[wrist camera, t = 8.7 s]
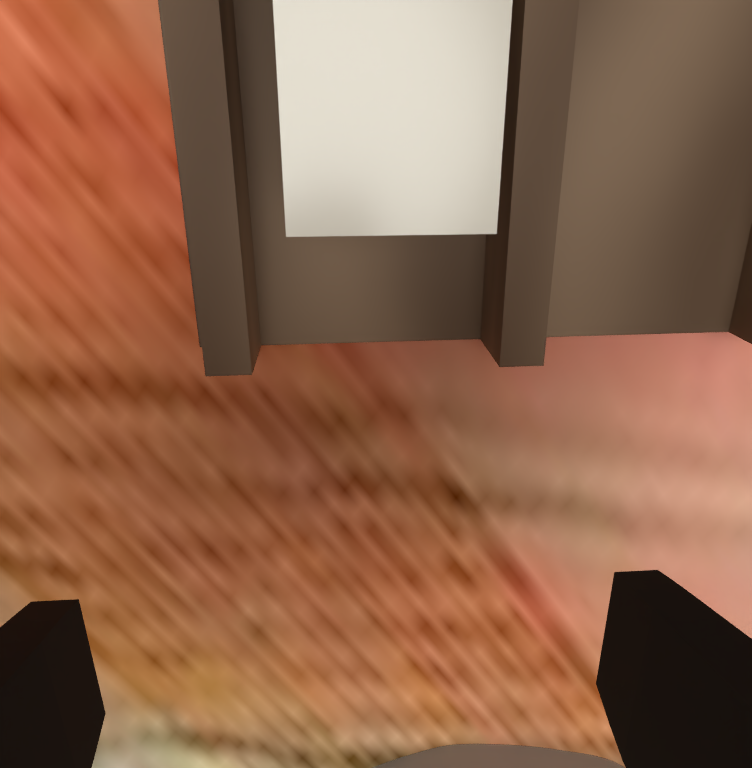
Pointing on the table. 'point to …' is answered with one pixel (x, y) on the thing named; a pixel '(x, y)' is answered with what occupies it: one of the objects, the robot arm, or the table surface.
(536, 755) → the lumpy-topped squat cylinder
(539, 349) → the rack
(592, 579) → the table surface
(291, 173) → the white rectangular block
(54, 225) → the table surface
